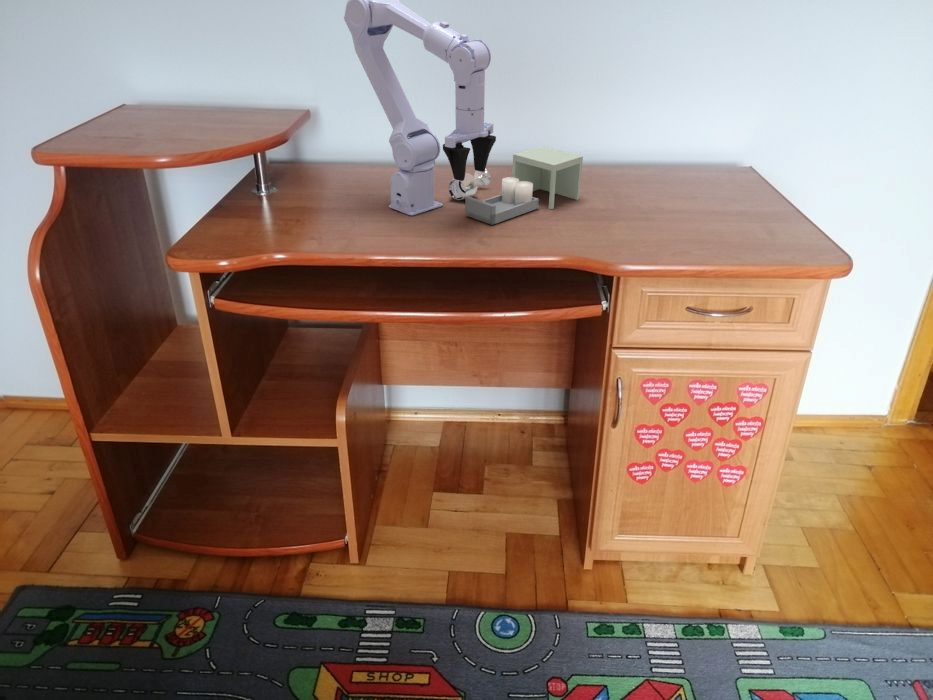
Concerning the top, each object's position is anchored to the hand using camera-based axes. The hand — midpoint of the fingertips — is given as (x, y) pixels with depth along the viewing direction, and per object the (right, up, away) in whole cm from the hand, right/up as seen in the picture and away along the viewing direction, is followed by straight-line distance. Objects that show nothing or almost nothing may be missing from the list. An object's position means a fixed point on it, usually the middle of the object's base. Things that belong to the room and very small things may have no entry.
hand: (469, 175), depth 146 cm
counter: (+18, -1, +17) cm, 24 cm away
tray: (+7, -6, +8) cm, 13 cm away
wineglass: (+3, +5, +22) cm, 23 cm away
